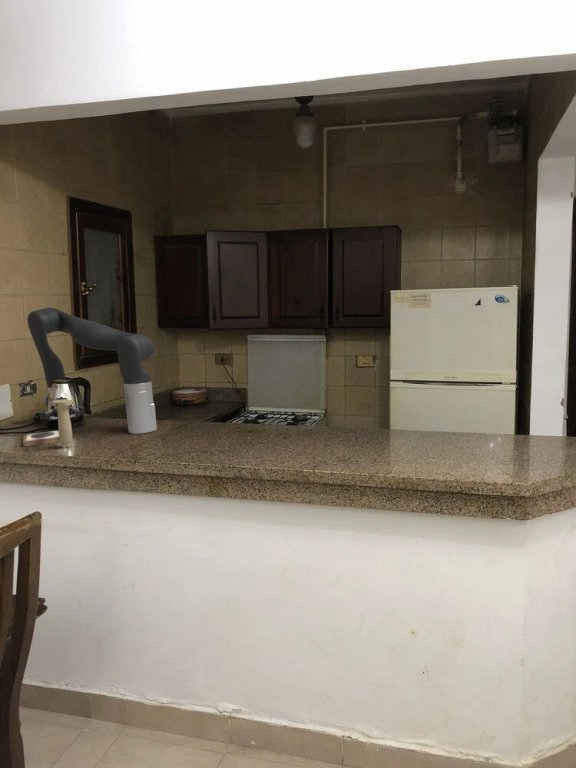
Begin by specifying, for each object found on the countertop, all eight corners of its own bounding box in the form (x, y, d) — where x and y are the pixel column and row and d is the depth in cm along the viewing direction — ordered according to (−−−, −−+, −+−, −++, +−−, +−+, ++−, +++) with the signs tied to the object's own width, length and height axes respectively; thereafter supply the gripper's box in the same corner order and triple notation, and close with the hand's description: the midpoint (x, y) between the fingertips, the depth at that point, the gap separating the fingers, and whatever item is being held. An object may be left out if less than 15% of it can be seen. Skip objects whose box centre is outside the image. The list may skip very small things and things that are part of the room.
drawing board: (61, 434, 209) (61, 429, 208) (62, 441, 198) (62, 436, 197) (24, 439, 204) (24, 433, 204) (23, 446, 193) (22, 441, 193)
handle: (69, 449, 186) (64, 402, 184) (53, 448, 189) (48, 402, 187) (80, 445, 191) (75, 399, 188) (64, 444, 193) (59, 399, 191)
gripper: (39, 400, 210) (38, 407, 195) (81, 396, 216) (84, 402, 201) (41, 421, 212) (41, 430, 197) (83, 416, 217) (86, 424, 202)
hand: (63, 416), depth 199 cm, fingers open, 8 cm apart
